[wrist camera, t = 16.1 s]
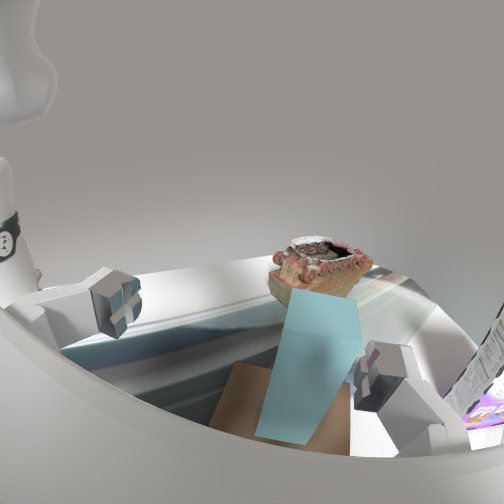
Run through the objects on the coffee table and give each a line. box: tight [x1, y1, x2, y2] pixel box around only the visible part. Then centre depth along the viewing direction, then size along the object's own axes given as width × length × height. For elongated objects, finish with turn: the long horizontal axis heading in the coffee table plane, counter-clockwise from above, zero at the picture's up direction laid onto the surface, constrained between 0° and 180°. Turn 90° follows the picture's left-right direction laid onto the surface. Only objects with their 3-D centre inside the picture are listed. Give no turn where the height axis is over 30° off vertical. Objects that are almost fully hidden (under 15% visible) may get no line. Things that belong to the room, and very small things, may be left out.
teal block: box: [255, 288, 362, 445], centre depth 21 cm, size 5×5×14 cm
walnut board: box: [208, 361, 350, 456], centre depth 24 cm, size 14×14×1 cm
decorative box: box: [269, 236, 373, 308], centre depth 48 cm, size 13×20×10 cm, turn 115°
